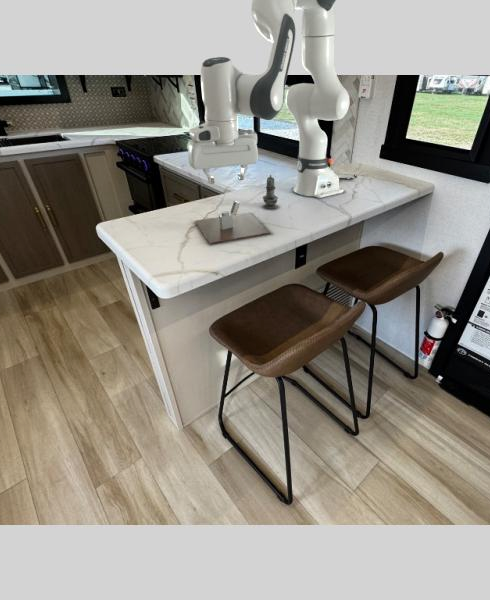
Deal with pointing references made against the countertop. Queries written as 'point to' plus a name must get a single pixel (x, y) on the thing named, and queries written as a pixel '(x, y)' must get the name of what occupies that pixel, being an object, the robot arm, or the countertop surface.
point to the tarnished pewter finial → (270, 195)
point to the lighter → (228, 216)
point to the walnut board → (232, 229)
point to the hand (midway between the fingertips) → (226, 181)
